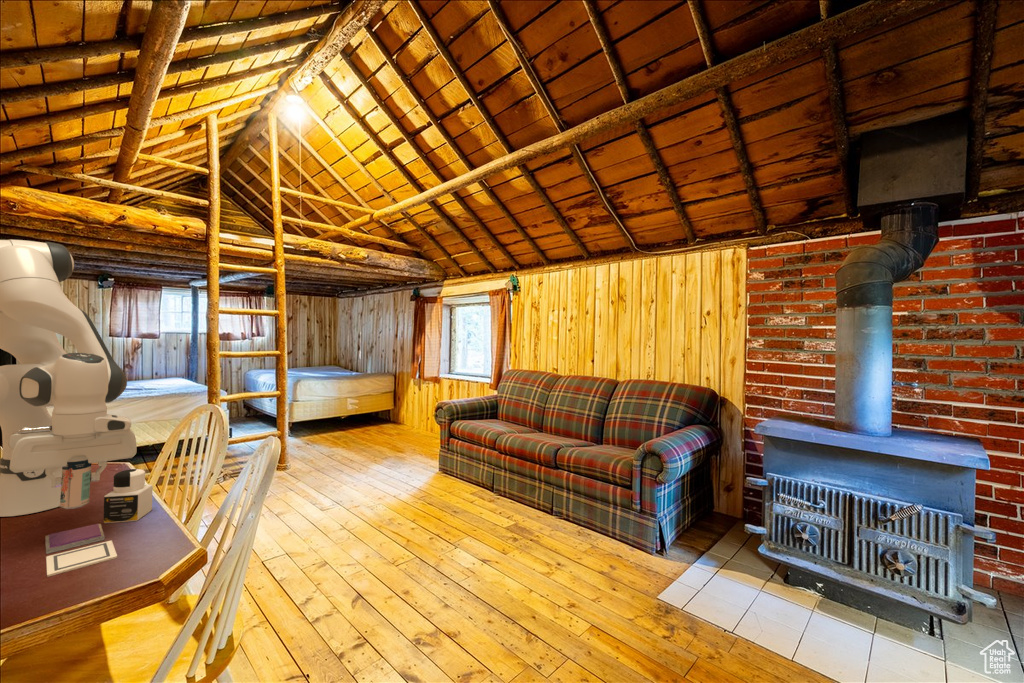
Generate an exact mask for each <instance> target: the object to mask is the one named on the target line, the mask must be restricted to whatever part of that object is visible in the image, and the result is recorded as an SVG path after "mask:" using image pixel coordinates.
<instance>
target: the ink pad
mask: <svg viewBox="0 0 1024 683" xmlns="http://www.w3.org/2000/svg"><path fill="white" fill-rule="evenodd" d="M101 541H105V533H104V531H103V526H102V524H101V523H95V524H91V525H85V526H81V527H77V528H73V529H69V530H63V531H59V532H58V531H57V532H55V533H54V532H53V533H49V534H48V535H45V555H48V554H52V553H56V552H61V551H64V550H70V549H73V548H77V547H82V546H85V545H89V544H92V543H93V544H95V543H97V542H101Z"/></svg>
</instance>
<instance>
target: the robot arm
mask: <svg viewBox="0 0 1024 683" xmlns="http://www.w3.org/2000/svg"><path fill="white" fill-rule="evenodd" d="M74 261H75V260H74V258H73V256H72V254H71V253H70V251H69V249H68V248H67V247H66V246H64V245H63V244H61V243H56V242H51V241H45V242H40V241H35V240H25V239H24V240H23V239H0V349H1V350H3V351H4V352H7V353H9V354H10V355H12V356H13V357H14V358H15V359H16V360H17V361H18V362H19V364H5V365H0V429H1V436H2V437H1V438H2V440H1V441H2V457H0V517H3V518H4V517H16V516H23V515H29V514H34V513H39V512H43V511H48V510H52V509H55V508H58V507H60V497H61V482H62V467H65V466H67V461H68V460H69V459H70V458H71V457H74V456H83V455H85V456H86V457H87V458H88V463H91V464H96V463H97V465H98V466H99V467H98V468H97V469H96V470H95V471H93V472H91V480H90V483H93V482H99V481H100V478H101V473H102V472H104V470H105V469H106V467H108V462H110V461H119V460H124V459H125V460H126V459H132V458H133V457H134V456H135V455H136V454H137V448H138V447H137V439H136V434H135V433H134V431H133V430H132V429H131V428H132V421H131V419H129V418H128V417H126V416H123V415H122V416H121V415H116V414H110V413H109V414H108V413H107V412H108V408H107V403H108V404H109V403H112V402H113V401H115V400H116V399H118V398H119V397H121V395H122V394H124V391H126V389H127V386H128V381H127V380H128V379H127V376H126V374H125V372H124V371H123V369H122V368H121V367H120V365H119V364H117V362H116V361H115V360H114V358H113V356H112V355H111V353H110V351H109V349H108V347H107V345H106V343H105V342H104V340H103V338H102V337H101V335H100V332H99V331H98V329H97V328H96V326H95V324H94V322H93V321H92V319H91V318H90V316H89V315H88V313H87V312H86V311H84V310H83V309H81V308H79V307H77V306H76V305H75V304H73V302H72V301H71V300H70V299H69V298H68V297H67V295H65V293H64V291H63V290H62V287H61V284H60V283H61V282H64V281H66V280H67V279H69V278H70V277H71V276H72V274H73V271H74V268H75V267H74V266H75V262H74ZM56 334H59V335H61V336H63V337H65V338H67V339H68V340H69V341H70V342H71V343H72V344H73V346H74V348H75V350H76V352H71V353H70V352H68V353H67V351H66V350H65V349H64V348H63V346H62V344H61V343H60V342H59V340H58V337H57V335H56ZM48 407H53V408H52V409H53V410H52V411H51V415H50V412H48Z"/></svg>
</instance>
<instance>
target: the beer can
mask: <svg viewBox="0 0 1024 683" xmlns="http://www.w3.org/2000/svg"><path fill="white" fill-rule="evenodd" d="M91 473H92V463H88V458H87V457H86V456H85V455H83V456H74V457H71V458H70V459H69V460H68V461H67V466H65V467H62V482H61V497H60V506H59V508H61V509H64V510H72V509H74V510H75V509H79V508H82V507H84V506H86V505H87V504H89V503H90V494H91V481H90V480H91Z"/></svg>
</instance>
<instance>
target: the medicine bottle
mask: <svg viewBox="0 0 1024 683" xmlns="http://www.w3.org/2000/svg"><path fill="white" fill-rule="evenodd" d="M145 481H146V471H145V470H144V469H140V468H132V469H130V468H129V469H125V470H121V471H119V472H117V473H115V474H114V475H113V487H112V488H113V491H110V492H109V493H107V494H105V495H104V496H103V524H115V523H126V522H127V523H128V522H137V521H139V520H140V519H141V518H143V517H144V516H146V515H147V514H148V513H150V512H151V511H152V510H153V487H154V486H153V484H145V483H146V482H145Z"/></svg>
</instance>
